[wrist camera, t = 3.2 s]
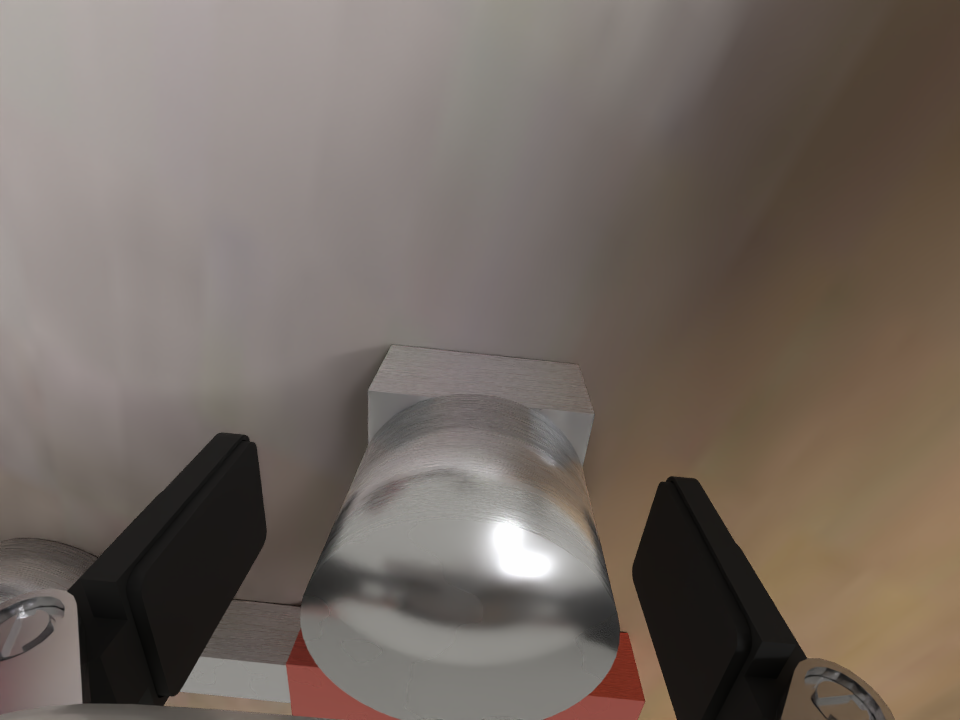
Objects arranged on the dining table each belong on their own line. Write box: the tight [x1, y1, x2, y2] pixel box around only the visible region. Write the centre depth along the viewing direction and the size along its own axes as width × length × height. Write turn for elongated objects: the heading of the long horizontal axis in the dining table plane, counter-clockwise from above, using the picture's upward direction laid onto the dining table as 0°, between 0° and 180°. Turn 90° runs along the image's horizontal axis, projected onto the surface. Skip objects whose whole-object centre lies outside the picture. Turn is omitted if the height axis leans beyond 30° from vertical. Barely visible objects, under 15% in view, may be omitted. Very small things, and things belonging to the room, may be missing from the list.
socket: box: [300, 345, 620, 720], centre depth 11 cm, size 5×5×6 cm
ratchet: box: [0, 538, 645, 720], centre depth 15 cm, size 23×6×5 cm, turn 84°
